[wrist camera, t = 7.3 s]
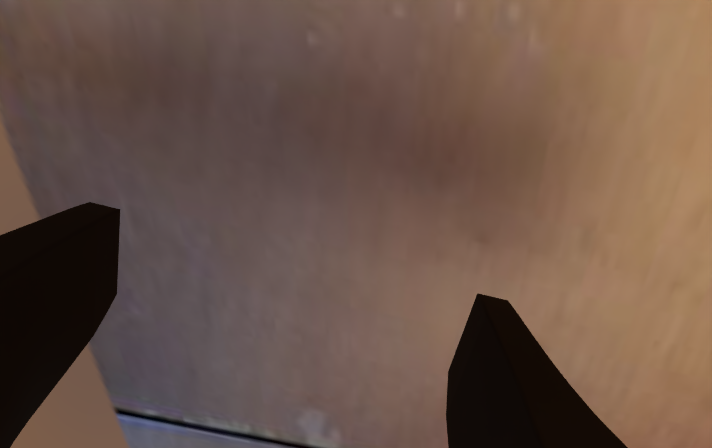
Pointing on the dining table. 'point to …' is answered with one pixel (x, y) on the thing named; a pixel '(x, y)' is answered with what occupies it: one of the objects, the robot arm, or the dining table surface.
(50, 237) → the robot arm
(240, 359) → the dining table surface
